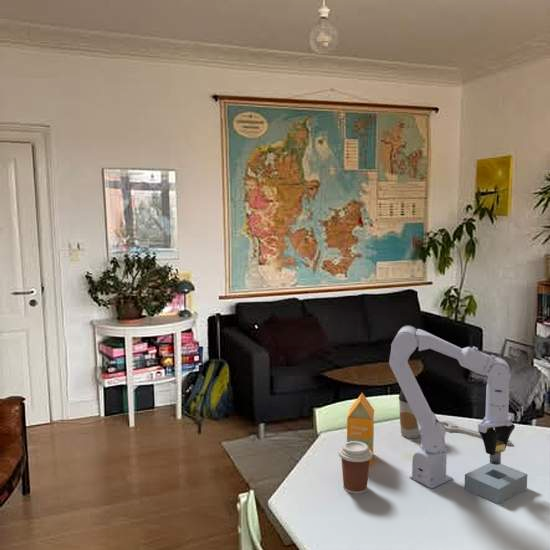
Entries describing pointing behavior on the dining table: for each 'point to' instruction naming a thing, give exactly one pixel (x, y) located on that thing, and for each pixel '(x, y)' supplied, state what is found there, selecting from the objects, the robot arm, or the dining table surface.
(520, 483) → the block
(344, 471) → the coffee cup
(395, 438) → the dining table surface
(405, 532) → the dining table surface
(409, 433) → the coffee cup
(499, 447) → the brass door knob
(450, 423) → the adjustable wrench
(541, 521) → the dining table surface
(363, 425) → the orange juice
